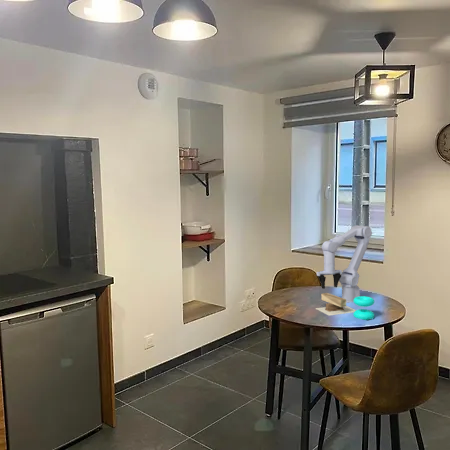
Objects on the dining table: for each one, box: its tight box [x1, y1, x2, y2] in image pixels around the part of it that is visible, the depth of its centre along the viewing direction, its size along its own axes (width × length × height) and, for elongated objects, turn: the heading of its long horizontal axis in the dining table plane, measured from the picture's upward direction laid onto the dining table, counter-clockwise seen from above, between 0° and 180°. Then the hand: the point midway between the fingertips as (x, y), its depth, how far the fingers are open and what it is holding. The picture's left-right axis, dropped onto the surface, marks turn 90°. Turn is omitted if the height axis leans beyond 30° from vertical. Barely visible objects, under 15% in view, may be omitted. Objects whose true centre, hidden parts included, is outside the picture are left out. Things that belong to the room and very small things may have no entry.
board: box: [315, 305, 357, 316], centre depth 244 cm, size 18×14×1 cm
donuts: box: [352, 295, 375, 321], centre depth 231 cm, size 10×10×10 cm
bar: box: [321, 292, 347, 307], centre depth 245 cm, size 4×16×4 cm, turn 25°
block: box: [325, 302, 344, 312], centre depth 245 cm, size 9×4×4 cm, turn 108°
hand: (329, 287), depth 254 cm, fingers open, 7 cm apart
